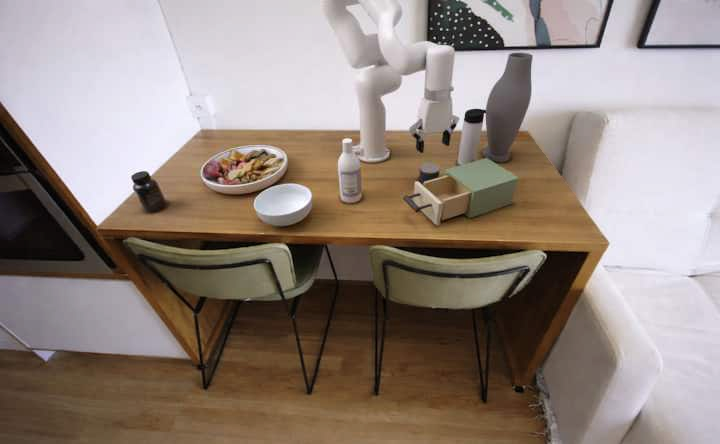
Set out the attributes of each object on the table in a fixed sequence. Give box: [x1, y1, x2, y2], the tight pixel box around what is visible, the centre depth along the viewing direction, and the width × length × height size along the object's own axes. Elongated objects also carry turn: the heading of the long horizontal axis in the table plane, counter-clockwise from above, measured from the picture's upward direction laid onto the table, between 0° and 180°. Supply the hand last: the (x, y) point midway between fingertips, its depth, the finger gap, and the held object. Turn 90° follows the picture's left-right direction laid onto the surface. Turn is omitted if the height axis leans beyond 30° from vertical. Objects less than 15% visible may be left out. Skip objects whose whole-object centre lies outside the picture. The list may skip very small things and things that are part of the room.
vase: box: [481, 52, 534, 163], centre depth 118 cm, size 13×13×35 cm
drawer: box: [402, 175, 472, 226], centre depth 100 cm, size 20×13×7 cm, turn 114°
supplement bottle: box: [130, 170, 168, 213], centre depth 108 cm, size 7×7×12 cm
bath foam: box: [337, 137, 363, 204], centre depth 105 cm, size 7×7×20 cm
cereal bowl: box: [253, 183, 314, 227], centre depth 102 cm, size 17×17×7 cm
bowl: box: [200, 144, 289, 195], centre depth 123 cm, size 30×30×8 cm
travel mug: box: [457, 108, 486, 166], centre depth 118 cm, size 6×7×20 cm
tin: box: [418, 162, 441, 185], centre depth 116 cm, size 7×7×5 cm
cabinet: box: [443, 157, 519, 219], centre depth 104 cm, size 16×14×9 cm
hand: (432, 147), depth 109 cm, fingers open, 9 cm apart
